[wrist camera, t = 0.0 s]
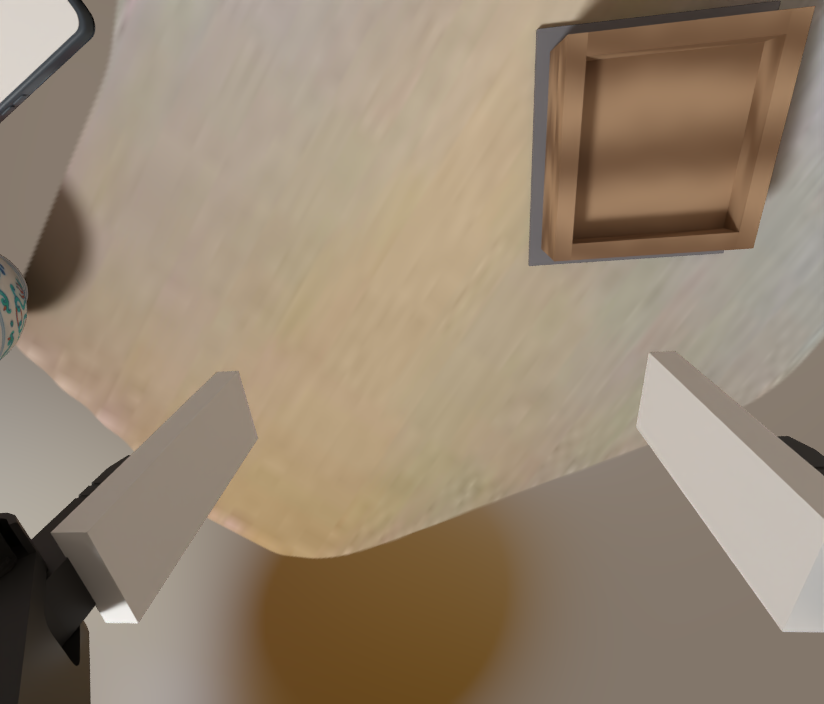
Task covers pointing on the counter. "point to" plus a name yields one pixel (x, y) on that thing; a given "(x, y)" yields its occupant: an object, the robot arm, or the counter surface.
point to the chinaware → (11, 305)
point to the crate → (666, 134)
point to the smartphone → (37, 44)
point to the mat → (544, 45)
